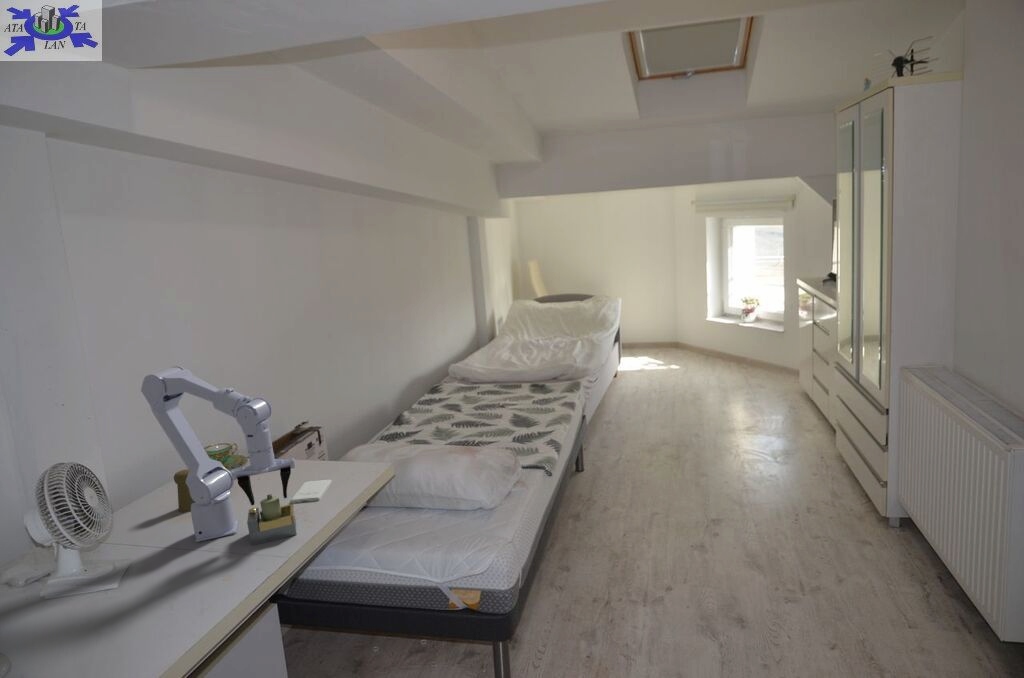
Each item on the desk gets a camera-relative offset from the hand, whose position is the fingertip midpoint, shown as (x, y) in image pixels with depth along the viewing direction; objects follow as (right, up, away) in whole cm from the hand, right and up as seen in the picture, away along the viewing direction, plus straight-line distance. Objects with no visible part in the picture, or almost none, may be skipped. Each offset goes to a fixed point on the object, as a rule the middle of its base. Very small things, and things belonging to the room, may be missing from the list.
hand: (269, 500), depth 163 cm
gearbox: (+1, -9, +2) cm, 9 cm away
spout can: (+1, -5, +1) cm, 6 cm away
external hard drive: (+3, -5, +25) cm, 26 cm away
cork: (-31, -8, +24) cm, 40 cm away
